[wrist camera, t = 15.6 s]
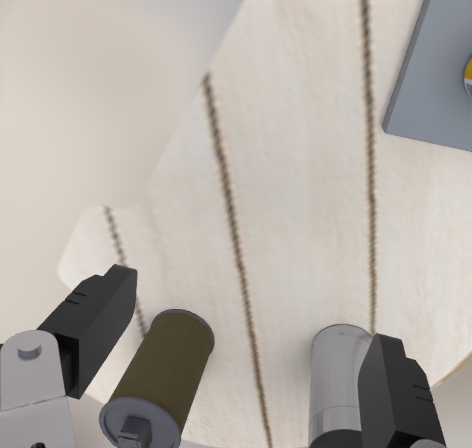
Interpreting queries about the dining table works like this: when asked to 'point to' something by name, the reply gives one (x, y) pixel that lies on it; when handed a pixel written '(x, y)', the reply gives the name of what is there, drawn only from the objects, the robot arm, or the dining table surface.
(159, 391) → the canister
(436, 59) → the stand
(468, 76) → the beer can
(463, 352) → the dining table surface
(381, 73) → the dining table surface
